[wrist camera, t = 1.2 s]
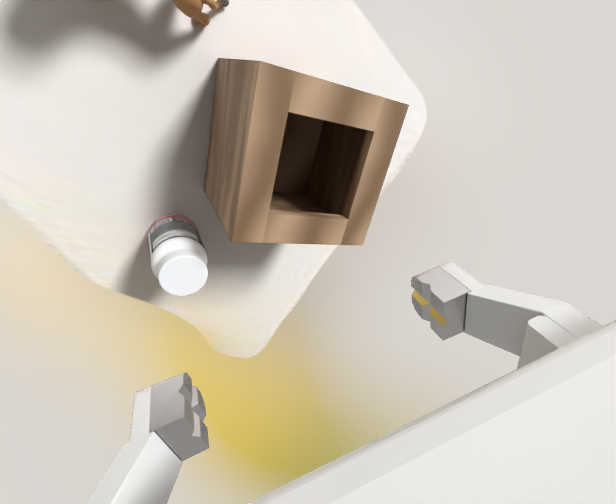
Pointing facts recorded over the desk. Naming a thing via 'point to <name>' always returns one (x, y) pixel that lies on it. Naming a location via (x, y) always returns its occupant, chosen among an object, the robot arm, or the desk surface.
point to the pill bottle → (177, 255)
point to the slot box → (296, 155)
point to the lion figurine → (199, 9)
